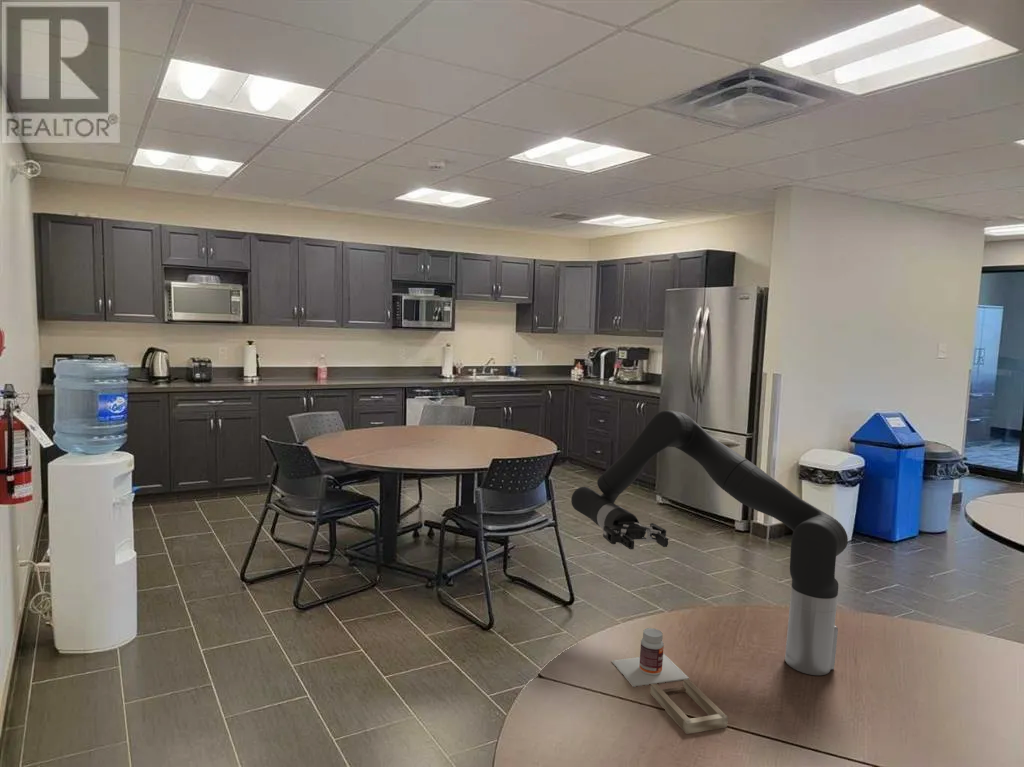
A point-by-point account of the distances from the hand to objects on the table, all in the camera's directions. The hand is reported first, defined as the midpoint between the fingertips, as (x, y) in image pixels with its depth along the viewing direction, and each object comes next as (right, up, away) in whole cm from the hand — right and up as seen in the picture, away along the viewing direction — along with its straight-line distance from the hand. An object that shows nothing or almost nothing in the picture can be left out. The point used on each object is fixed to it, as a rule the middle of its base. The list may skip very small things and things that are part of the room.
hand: (649, 544), depth 147 cm
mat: (-2, -25, -8) cm, 26 cm away
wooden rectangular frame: (+3, -26, -22) cm, 35 cm away
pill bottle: (-2, -25, -9) cm, 26 cm away
